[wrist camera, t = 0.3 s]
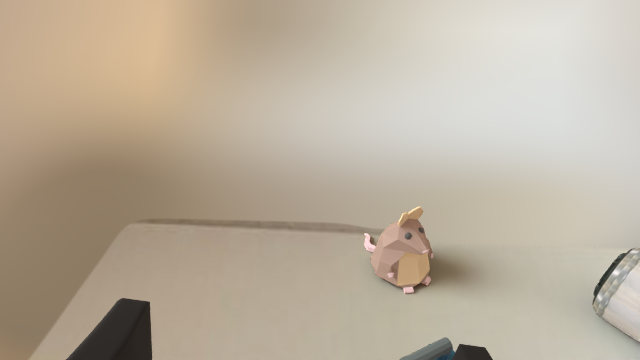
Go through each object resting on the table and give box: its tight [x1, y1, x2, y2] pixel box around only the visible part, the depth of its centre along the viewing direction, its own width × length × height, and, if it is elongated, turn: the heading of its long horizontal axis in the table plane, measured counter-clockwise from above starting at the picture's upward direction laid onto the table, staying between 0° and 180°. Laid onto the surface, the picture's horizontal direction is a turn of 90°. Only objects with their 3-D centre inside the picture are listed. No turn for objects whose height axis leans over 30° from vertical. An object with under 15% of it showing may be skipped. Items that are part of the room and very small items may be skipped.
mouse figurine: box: [364, 206, 433, 294], centre depth 42 cm, size 5×8×7 cm, turn 32°
